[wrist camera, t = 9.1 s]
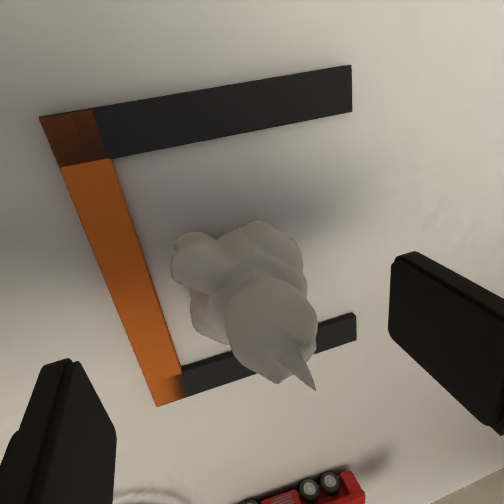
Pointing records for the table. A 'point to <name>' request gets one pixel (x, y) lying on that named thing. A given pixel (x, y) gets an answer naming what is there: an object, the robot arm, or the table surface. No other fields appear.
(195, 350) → the table surface
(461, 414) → the table surface
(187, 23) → the table surface
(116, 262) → the frame
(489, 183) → the table surface
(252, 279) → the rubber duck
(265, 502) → the toy fire truck
